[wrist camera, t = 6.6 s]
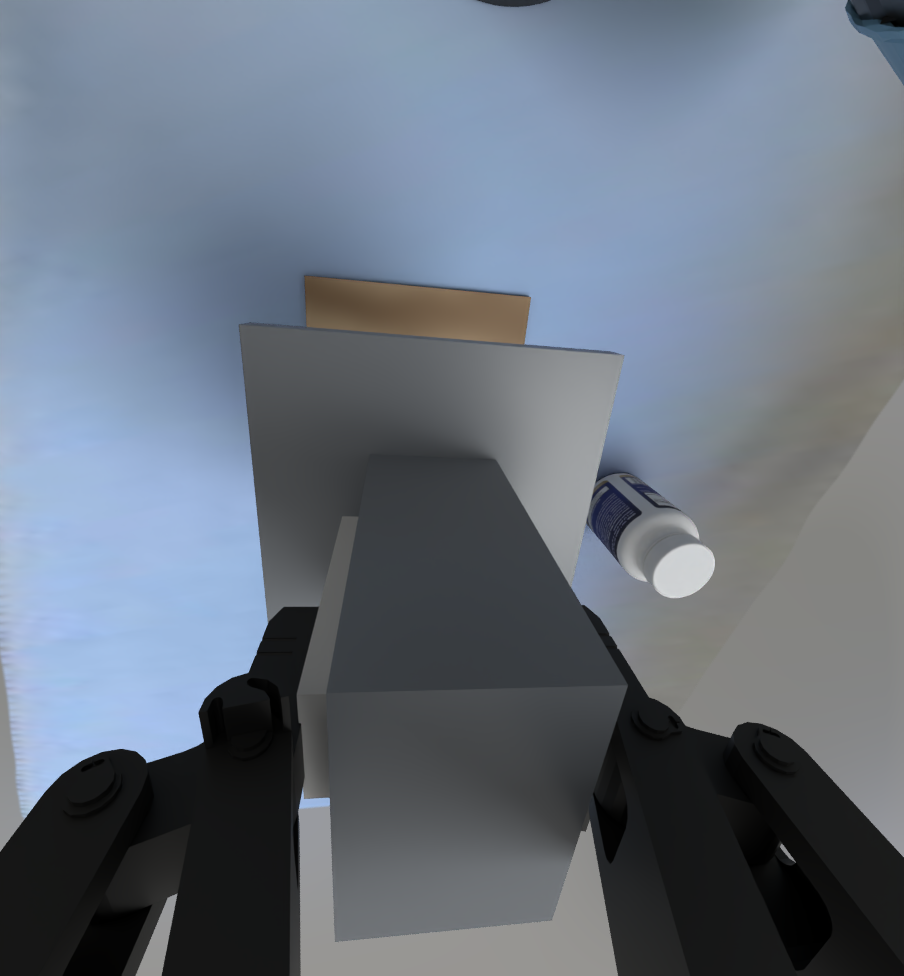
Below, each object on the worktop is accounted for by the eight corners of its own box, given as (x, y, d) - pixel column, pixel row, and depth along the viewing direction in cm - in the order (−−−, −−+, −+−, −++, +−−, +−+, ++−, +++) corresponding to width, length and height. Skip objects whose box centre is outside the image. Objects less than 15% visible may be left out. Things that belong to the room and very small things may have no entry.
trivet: (305, 276, 27) (304, 275, 26) (529, 297, 29) (530, 297, 28) (315, 511, 33) (314, 514, 33) (498, 516, 35) (499, 519, 35)
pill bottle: (588, 540, 37) (648, 619, 28) (573, 486, 35) (633, 552, 26) (650, 518, 37) (730, 590, 28) (639, 461, 34) (723, 520, 26)
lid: (250, 322, 13) (-121, 393, 4) (610, 351, 14) (985, 453, 5) (280, 664, 18) (156, 1051, 9) (543, 660, 19) (671, 986, 10)
